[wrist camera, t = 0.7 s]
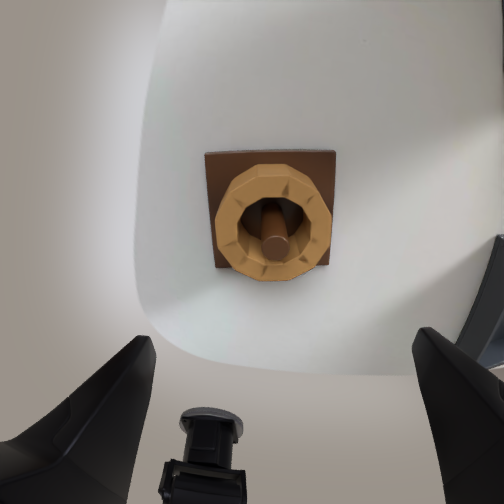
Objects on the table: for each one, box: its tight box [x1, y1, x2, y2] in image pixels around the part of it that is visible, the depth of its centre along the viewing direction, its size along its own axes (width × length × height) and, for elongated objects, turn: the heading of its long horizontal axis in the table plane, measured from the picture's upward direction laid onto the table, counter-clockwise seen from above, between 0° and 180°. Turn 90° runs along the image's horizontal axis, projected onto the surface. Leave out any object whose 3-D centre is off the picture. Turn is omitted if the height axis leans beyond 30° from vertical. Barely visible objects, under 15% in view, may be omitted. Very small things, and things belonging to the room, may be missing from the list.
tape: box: [215, 164, 332, 281], centre depth 18 cm, size 6×6×3 cm
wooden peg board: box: [204, 149, 336, 268], centre depth 17 cm, size 8×8×6 cm
